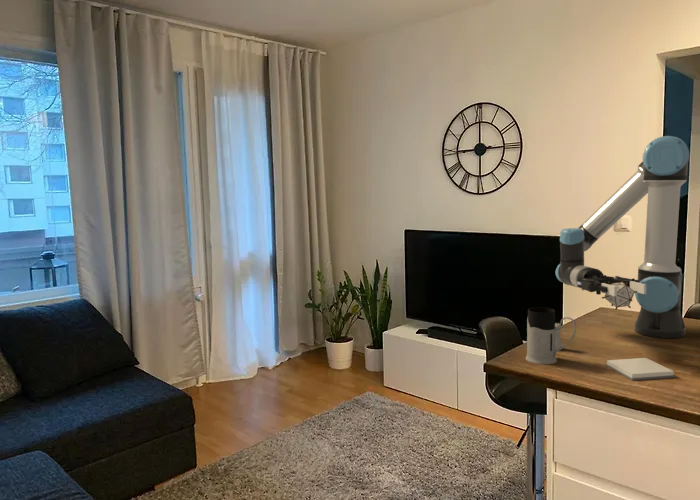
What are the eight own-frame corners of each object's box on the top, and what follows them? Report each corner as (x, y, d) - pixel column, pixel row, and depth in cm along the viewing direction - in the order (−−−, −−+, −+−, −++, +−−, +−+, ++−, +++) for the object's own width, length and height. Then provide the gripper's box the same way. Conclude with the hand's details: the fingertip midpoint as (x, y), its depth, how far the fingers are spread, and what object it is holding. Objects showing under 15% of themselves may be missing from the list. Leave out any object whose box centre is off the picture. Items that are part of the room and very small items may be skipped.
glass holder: (532, 353, 167) (532, 305, 166) (580, 361, 159) (580, 310, 157) (520, 360, 161) (521, 311, 159) (570, 369, 152) (571, 317, 150)
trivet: (645, 362, 155) (645, 357, 155) (674, 377, 143) (674, 371, 143) (605, 365, 154) (605, 360, 154) (631, 380, 142) (631, 374, 142)
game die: (626, 321, 158) (643, 298, 151) (596, 311, 159) (612, 287, 153) (625, 301, 164) (642, 278, 158) (597, 291, 166) (612, 268, 159)
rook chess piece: (545, 347, 173) (545, 322, 172) (559, 346, 174) (559, 321, 173) (551, 351, 169) (551, 326, 168) (565, 350, 169) (565, 325, 168)
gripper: (618, 287, 178) (665, 300, 155) (556, 292, 176) (595, 306, 153) (618, 265, 177) (665, 274, 154) (556, 269, 175) (595, 279, 152)
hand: (630, 290), depth 154 cm, fingers closed on game die, 8 cm apart
